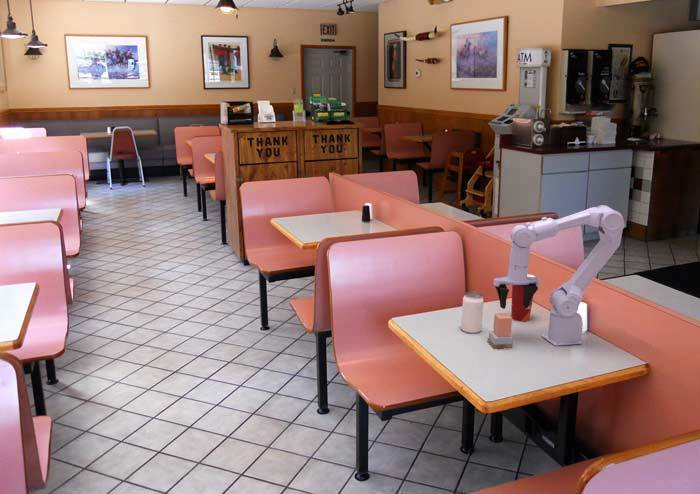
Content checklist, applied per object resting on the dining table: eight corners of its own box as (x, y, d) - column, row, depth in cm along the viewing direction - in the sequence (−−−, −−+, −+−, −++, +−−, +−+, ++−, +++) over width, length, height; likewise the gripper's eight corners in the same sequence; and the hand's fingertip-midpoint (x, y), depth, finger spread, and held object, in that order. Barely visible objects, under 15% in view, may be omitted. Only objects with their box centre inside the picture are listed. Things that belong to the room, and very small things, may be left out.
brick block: (505, 331, 195) (507, 313, 193) (510, 336, 191) (512, 318, 189) (493, 332, 194) (494, 313, 193) (497, 337, 190) (499, 318, 189)
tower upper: (505, 337, 196) (506, 330, 195) (512, 344, 191) (512, 337, 190) (488, 337, 195) (489, 331, 195) (494, 344, 190) (495, 338, 190)
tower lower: (503, 342, 197) (504, 336, 196) (511, 350, 191) (512, 343, 191) (487, 344, 195) (487, 338, 195) (494, 351, 190) (495, 345, 190)
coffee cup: (535, 323, 212) (540, 280, 208) (510, 322, 212) (514, 279, 208) (529, 314, 220) (533, 272, 216) (505, 313, 220) (509, 272, 216)
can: (476, 335, 201) (479, 299, 198) (457, 330, 204) (460, 295, 201) (484, 329, 206) (486, 293, 203) (465, 324, 209) (467, 290, 206)
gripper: (533, 260, 198) (529, 301, 201) (490, 261, 195) (486, 303, 198) (545, 267, 191) (540, 309, 195) (501, 268, 188) (496, 311, 192)
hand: (514, 307), depth 196 cm, fingers open, 7 cm apart
